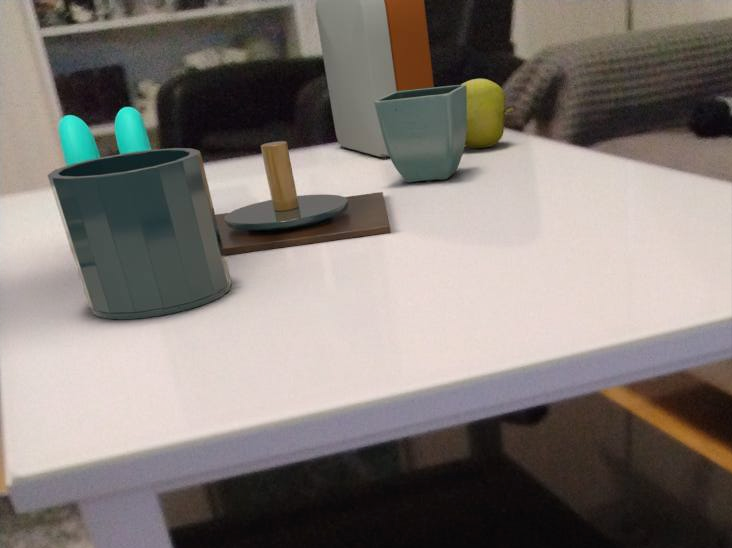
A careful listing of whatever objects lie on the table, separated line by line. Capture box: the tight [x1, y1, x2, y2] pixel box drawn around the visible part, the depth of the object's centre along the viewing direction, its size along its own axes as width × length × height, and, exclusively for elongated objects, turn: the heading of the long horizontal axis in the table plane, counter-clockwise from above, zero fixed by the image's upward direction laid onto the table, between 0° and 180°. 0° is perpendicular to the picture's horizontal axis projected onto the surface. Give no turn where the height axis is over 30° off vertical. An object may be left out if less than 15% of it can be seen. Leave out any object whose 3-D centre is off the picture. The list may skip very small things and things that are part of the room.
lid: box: [225, 140, 349, 231], centre depth 102 cm, size 13×13×7 cm
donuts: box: [58, 106, 152, 166], centre depth 128 cm, size 10×10×10 cm
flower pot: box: [374, 84, 467, 183], centre depth 117 cm, size 9×9×9 cm
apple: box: [460, 78, 515, 149], centre depth 131 cm, size 8×9×8 cm
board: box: [215, 191, 391, 256], centre depth 104 cm, size 20×18×1 cm
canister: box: [47, 147, 232, 320], centre depth 83 cm, size 12×12×10 cm
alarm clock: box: [315, 0, 435, 159], centre depth 137 cm, size 18×9×21 cm, turn 26°
